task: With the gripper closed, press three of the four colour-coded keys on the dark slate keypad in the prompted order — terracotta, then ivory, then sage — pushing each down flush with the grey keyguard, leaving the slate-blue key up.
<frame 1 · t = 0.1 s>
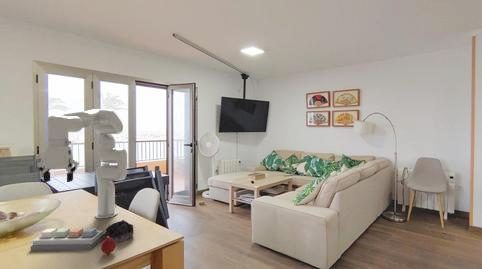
hand: (58, 181, 113), 31 cm above the table, fingers open, 9 cm apart
key ivory: (49, 232, 120), point 5 cm above the table, slide at 0.0 cm
key sage: (62, 232, 120), point 5 cm above the table, slide at 0.0 cm
crystal cluster: (119, 238, 127), on the table
onion: (108, 254, 111), on the table
keypad board: (69, 243, 120), on the table
key slate: (89, 232, 121), point 5 cm above the table, slide at 0.0 cm
key terracotta: (76, 232, 120), point 5 cm above the table, slide at 0.0 cm
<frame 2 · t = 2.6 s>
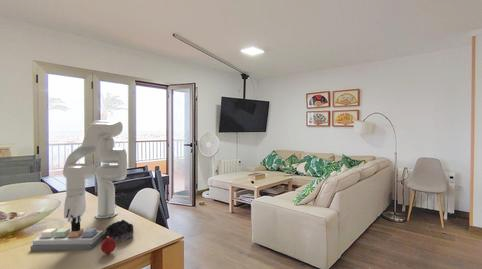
hand: (75, 230, 120), 6 cm above the table, fingers closed
key terracotta: (76, 232, 120), point 5 cm above the table, slide at 0.1 cm, touching gripper
everything else where it was.
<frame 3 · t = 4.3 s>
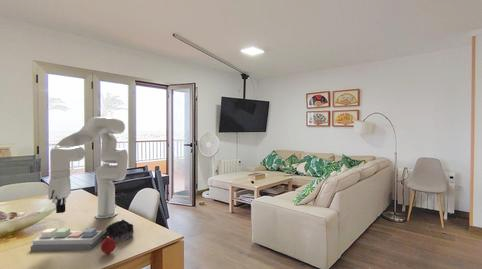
hand: (60, 212, 120), 15 cm above the table, fingers closed
key terracotta: (76, 236, 120), point 3 cm above the table, slide at 1.9 cm
everything else where it was.
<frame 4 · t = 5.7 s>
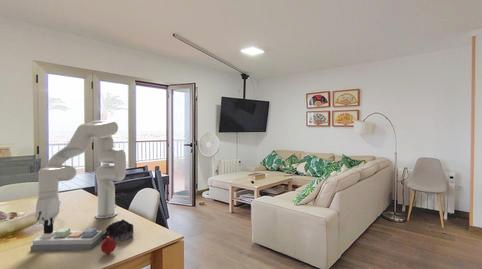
hand: (48, 232, 119), 6 cm above the table, fingers closed
key ivory: (49, 235, 120), point 4 cm above the table, slide at 1.0 cm, touching gripper
everything else where it was.
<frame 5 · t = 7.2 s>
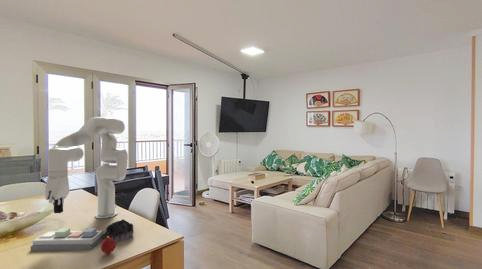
hand: (58, 212, 120), 15 cm above the table, fingers closed
key ivory: (49, 237, 120), point 3 cm above the table, slide at 1.9 cm
everything else where it was.
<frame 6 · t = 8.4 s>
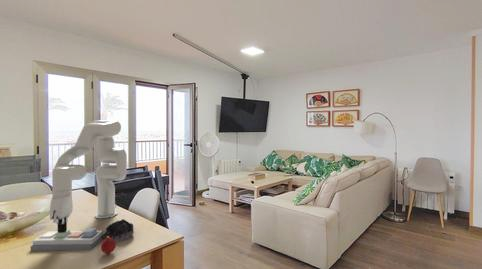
hand: (62, 231, 119), 6 cm above the table, fingers closed
key sage: (62, 233, 120), point 5 cm above the table, slide at 0.6 cm, touching gripper
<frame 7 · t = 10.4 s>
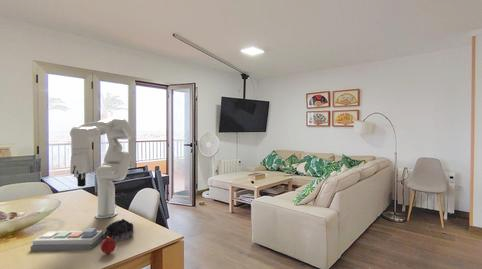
hand: (81, 186, 132), 25 cm above the table, fingers closed
key sage: (62, 236, 120), point 3 cm above the table, slide at 1.9 cm
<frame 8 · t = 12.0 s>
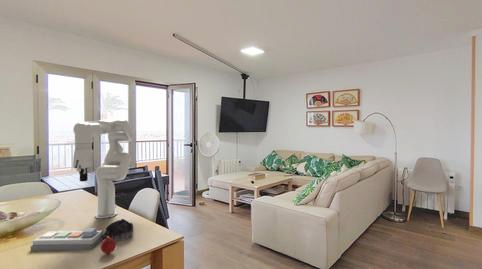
hand: (83, 180, 133), 27 cm above the table, fingers closed
at the end: key terracotta slide at 1.9 cm; key ivory slide at 1.9 cm; key sage slide at 1.9 cm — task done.
